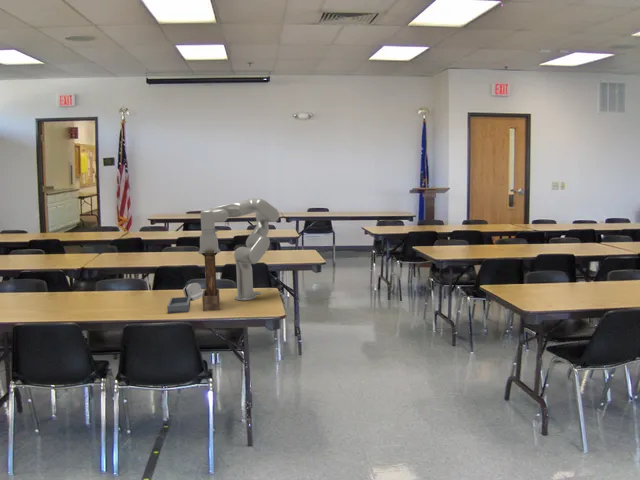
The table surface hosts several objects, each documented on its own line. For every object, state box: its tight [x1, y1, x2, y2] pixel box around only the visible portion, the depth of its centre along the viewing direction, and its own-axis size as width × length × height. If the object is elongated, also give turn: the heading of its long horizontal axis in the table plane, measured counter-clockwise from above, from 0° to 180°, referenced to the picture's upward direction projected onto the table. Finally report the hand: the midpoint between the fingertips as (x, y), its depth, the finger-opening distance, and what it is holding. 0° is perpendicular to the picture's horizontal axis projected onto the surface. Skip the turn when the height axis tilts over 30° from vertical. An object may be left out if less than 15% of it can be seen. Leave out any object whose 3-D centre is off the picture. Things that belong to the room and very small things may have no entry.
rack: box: [201, 288, 221, 312], centre depth 315 cm, size 9×21×8 cm, turn 10°
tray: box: [166, 296, 191, 314], centre depth 312 cm, size 11×22×4 cm, turn 10°
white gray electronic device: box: [182, 282, 203, 301], centre depth 339 cm, size 17×5×10 cm, turn 165°
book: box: [203, 252, 218, 296], centre depth 313 cm, size 16×6×25 cm, turn 13°
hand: (210, 263), depth 313 cm, fingers closed on book
